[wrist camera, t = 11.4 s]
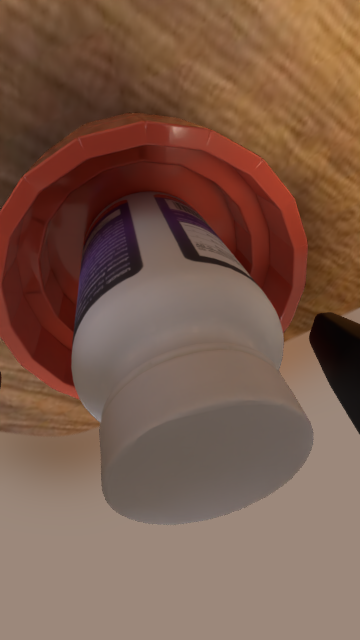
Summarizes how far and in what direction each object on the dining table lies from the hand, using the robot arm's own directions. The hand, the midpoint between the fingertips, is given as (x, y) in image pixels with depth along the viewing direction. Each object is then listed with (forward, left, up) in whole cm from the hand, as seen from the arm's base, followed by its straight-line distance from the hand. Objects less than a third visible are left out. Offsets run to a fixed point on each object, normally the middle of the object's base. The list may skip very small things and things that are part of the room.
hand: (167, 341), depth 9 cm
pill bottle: (0, 0, -6) cm, 6 cm away
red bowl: (0, 0, -6) cm, 6 cm away
